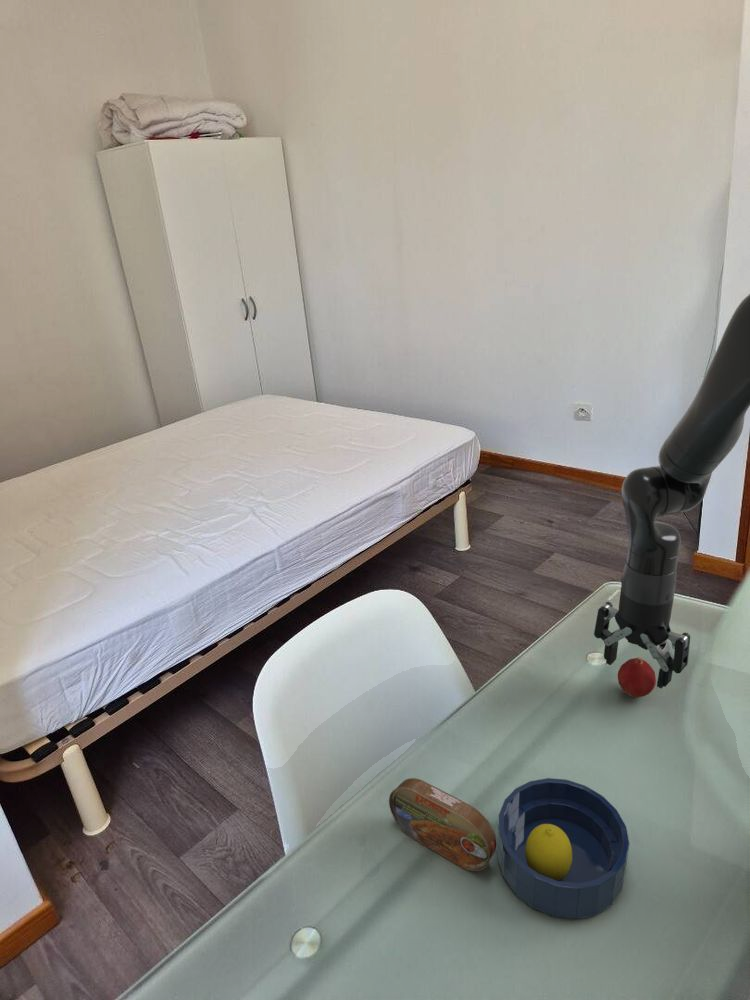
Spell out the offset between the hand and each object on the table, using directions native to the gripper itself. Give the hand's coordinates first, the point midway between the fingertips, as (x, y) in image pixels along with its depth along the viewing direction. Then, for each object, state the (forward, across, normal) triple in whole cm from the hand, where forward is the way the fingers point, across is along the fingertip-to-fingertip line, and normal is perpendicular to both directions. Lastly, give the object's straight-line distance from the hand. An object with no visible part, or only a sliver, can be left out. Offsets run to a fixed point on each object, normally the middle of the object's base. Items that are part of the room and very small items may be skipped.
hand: (635, 673), depth 111 cm
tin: (+5, +5, +42) cm, 43 cm away
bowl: (+5, -7, +34) cm, 35 cm away
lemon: (+4, -7, +37) cm, 38 cm away
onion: (+5, 0, 0) cm, 5 cm away
